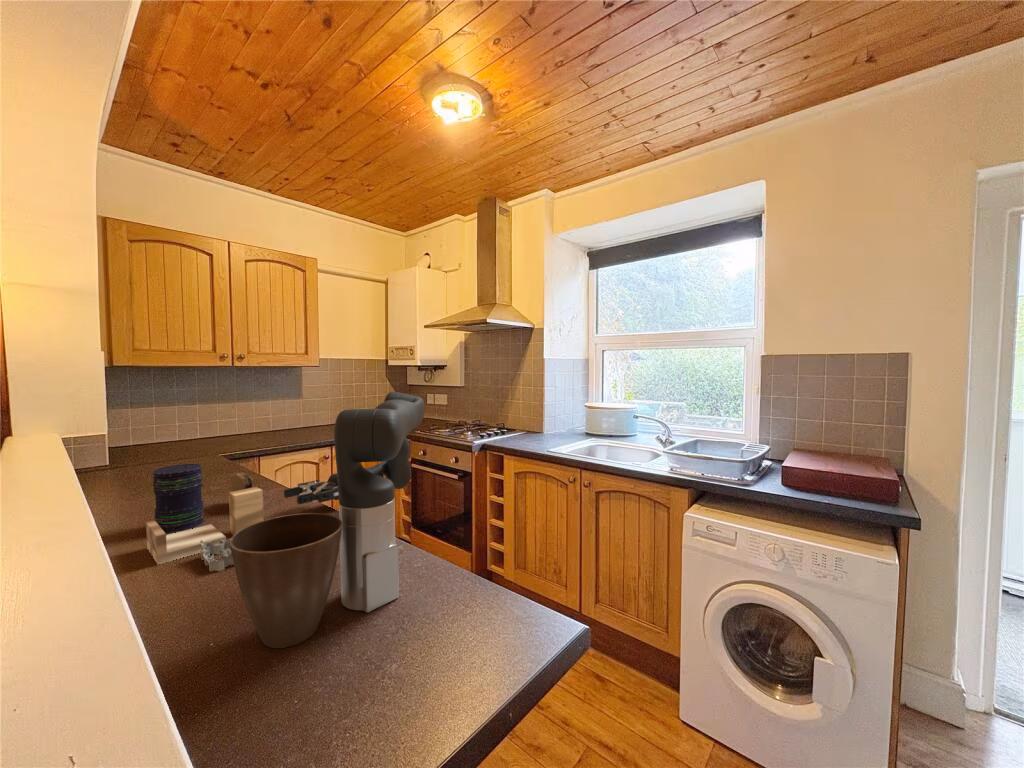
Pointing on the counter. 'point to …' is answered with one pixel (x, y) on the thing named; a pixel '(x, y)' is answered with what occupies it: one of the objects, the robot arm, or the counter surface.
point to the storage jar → (178, 497)
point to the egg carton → (217, 549)
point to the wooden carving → (240, 481)
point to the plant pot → (286, 573)
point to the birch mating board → (179, 541)
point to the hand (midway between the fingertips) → (290, 497)
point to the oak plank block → (245, 508)
